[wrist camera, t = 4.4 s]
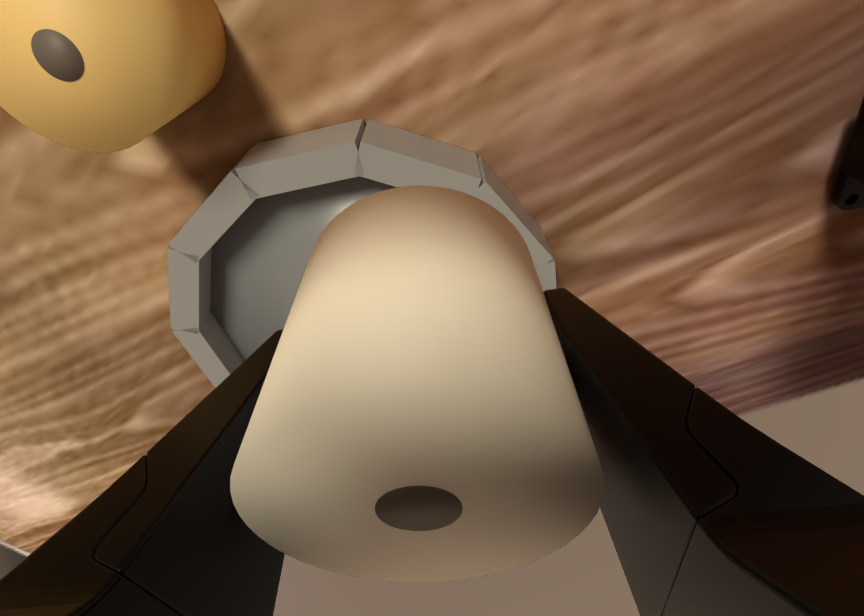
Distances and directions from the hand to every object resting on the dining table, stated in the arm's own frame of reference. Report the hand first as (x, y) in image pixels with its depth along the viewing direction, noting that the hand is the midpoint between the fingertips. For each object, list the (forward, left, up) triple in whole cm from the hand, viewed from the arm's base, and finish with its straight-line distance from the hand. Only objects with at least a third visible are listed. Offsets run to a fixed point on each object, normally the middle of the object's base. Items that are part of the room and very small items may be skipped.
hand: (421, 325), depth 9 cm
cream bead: (0, 0, -1) cm, 1 cm away
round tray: (+4, +7, -11) cm, 14 cm away
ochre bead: (+8, -6, -11) cm, 15 cm away
